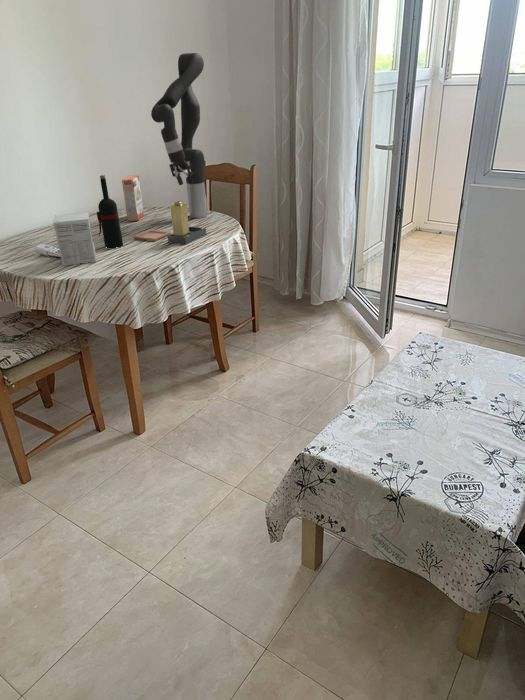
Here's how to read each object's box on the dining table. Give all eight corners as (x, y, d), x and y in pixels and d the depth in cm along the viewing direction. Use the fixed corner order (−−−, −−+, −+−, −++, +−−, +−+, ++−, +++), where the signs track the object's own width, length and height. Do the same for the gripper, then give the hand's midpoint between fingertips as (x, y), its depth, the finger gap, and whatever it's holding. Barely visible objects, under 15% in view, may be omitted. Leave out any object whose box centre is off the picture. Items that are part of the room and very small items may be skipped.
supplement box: (96, 262, 211) (88, 219, 202) (62, 266, 208) (52, 222, 199) (96, 253, 222) (88, 211, 214) (63, 256, 219) (54, 215, 211)
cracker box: (138, 221, 269) (132, 179, 260) (127, 221, 270) (120, 179, 260) (144, 215, 282) (139, 174, 272) (133, 215, 282) (127, 175, 272)
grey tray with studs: (188, 232, 246) (188, 225, 244) (206, 234, 242) (205, 227, 241) (168, 242, 233) (167, 234, 231) (186, 244, 229) (185, 236, 227)
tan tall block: (180, 239, 237) (176, 200, 229) (190, 240, 235) (186, 201, 227) (174, 242, 233) (170, 203, 225) (183, 243, 231) (179, 203, 223)
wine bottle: (104, 243, 235) (91, 174, 221) (125, 243, 233) (114, 173, 220) (97, 248, 228) (84, 177, 214) (119, 248, 227) (108, 177, 213)
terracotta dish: (149, 232, 248) (149, 229, 248) (170, 234, 244) (170, 232, 243) (134, 239, 239) (133, 236, 238) (155, 241, 234) (155, 238, 234)
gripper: (189, 146, 242) (201, 180, 249) (172, 149, 251) (183, 182, 259) (177, 151, 238) (189, 186, 245) (160, 154, 247) (172, 187, 255)
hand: (186, 184), depth 252 cm, fingers open, 8 cm apart
